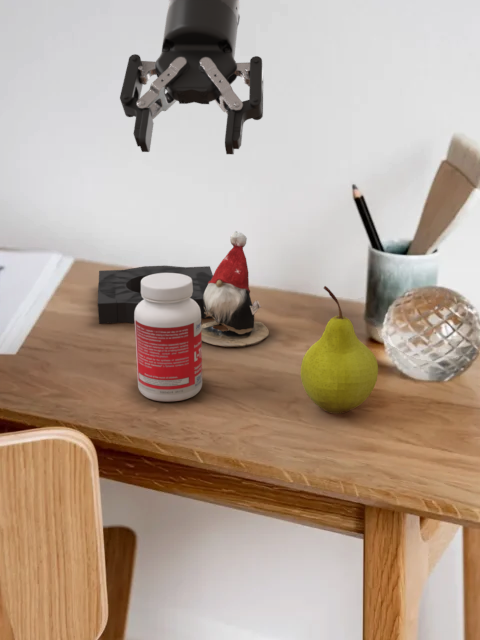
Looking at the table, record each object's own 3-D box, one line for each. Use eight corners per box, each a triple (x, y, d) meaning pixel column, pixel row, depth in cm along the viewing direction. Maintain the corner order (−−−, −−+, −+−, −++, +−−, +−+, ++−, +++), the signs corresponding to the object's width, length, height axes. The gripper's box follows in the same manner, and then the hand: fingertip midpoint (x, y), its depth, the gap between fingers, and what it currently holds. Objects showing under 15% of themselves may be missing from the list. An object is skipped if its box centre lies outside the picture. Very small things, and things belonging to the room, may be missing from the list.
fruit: (366, 390, 81) (374, 271, 76) (383, 424, 75) (393, 297, 70) (295, 393, 80) (298, 273, 75) (306, 427, 74) (311, 299, 69)
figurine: (197, 326, 85) (192, 229, 91) (195, 369, 94) (190, 279, 100) (277, 324, 86) (268, 228, 92) (268, 367, 95) (260, 278, 101)
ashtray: (98, 327, 95) (97, 306, 94) (100, 286, 108) (99, 268, 107) (222, 321, 97) (222, 301, 96) (209, 282, 110) (209, 263, 109)
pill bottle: (207, 400, 79) (205, 288, 74) (141, 407, 77) (136, 293, 73) (196, 373, 84) (194, 267, 80) (135, 378, 83) (129, 271, 78)
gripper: (128, -9, 86) (106, 123, 80) (268, -8, 85) (255, 127, 79) (143, 43, 93) (123, 168, 87) (271, 44, 92) (260, 172, 86)
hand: (186, 148), depth 83 cm, fingers open, 8 cm apart
